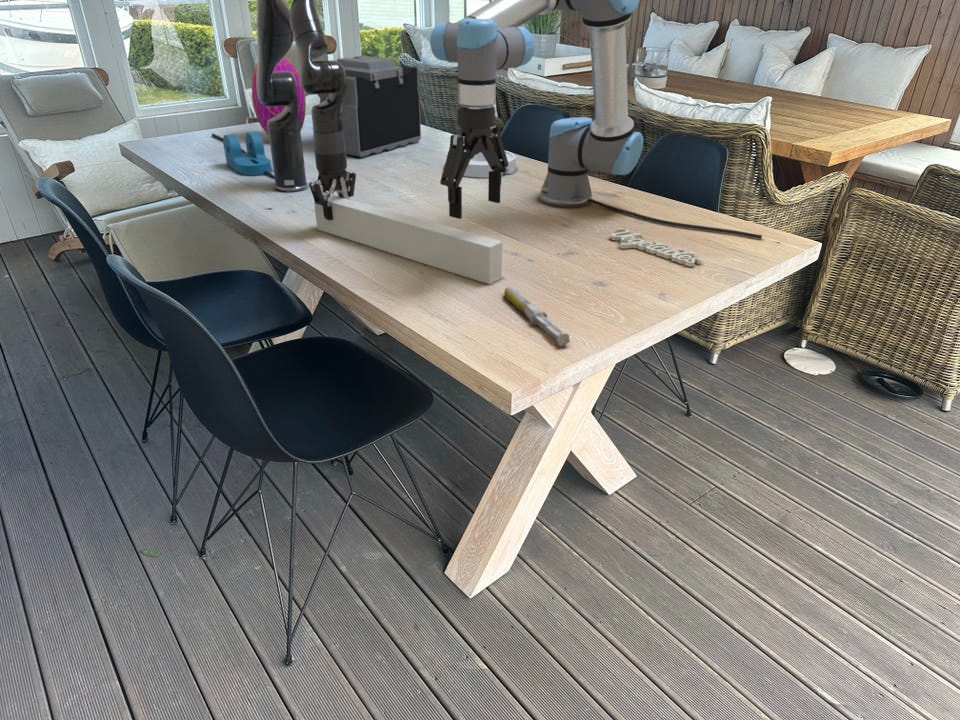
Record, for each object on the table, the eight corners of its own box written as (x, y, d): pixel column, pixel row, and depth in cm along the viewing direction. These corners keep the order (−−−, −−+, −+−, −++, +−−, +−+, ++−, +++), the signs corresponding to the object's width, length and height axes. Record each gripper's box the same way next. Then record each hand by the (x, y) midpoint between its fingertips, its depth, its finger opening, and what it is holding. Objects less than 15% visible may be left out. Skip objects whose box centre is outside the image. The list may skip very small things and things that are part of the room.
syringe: (499, 294, 146) (500, 282, 144) (516, 291, 147) (516, 279, 146) (552, 349, 126) (553, 336, 125) (570, 345, 127) (571, 332, 126)
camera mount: (227, 164, 233) (221, 132, 227) (257, 160, 238) (252, 129, 233) (244, 176, 220) (239, 143, 215) (276, 172, 225) (271, 139, 220)
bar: (501, 278, 154) (502, 241, 149) (489, 284, 151) (490, 247, 146) (330, 225, 183) (326, 193, 178) (317, 229, 180) (313, 197, 175)
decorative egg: (293, 132, 276) (283, 50, 261) (319, 140, 264) (310, 56, 249) (249, 139, 265) (236, 54, 250) (273, 148, 253) (261, 60, 238)
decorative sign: (596, 235, 174) (621, 227, 180) (596, 239, 175) (620, 230, 181) (684, 266, 157) (708, 256, 163) (684, 270, 158) (708, 260, 164)
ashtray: (449, 158, 243) (449, 147, 241) (514, 159, 242) (515, 148, 240) (444, 176, 223) (444, 164, 221) (515, 178, 222) (516, 165, 220)
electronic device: (383, 133, 276) (378, 52, 261) (425, 141, 265) (422, 56, 250) (314, 150, 251) (304, 61, 235) (358, 160, 240) (350, 67, 224)
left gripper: (341, 141, 174) (347, 207, 183) (296, 152, 165) (305, 221, 173) (362, 146, 171) (367, 213, 179) (317, 157, 161) (325, 227, 169)
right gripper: (497, 95, 147) (495, 192, 158) (420, 112, 130) (423, 220, 141) (527, 99, 143) (522, 198, 154) (451, 117, 126) (452, 228, 137)
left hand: (336, 216), depth 176 cm, fingers closed on bar, 4 cm apart
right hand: (475, 209), depth 147 cm, fingers open, 13 cm apart
